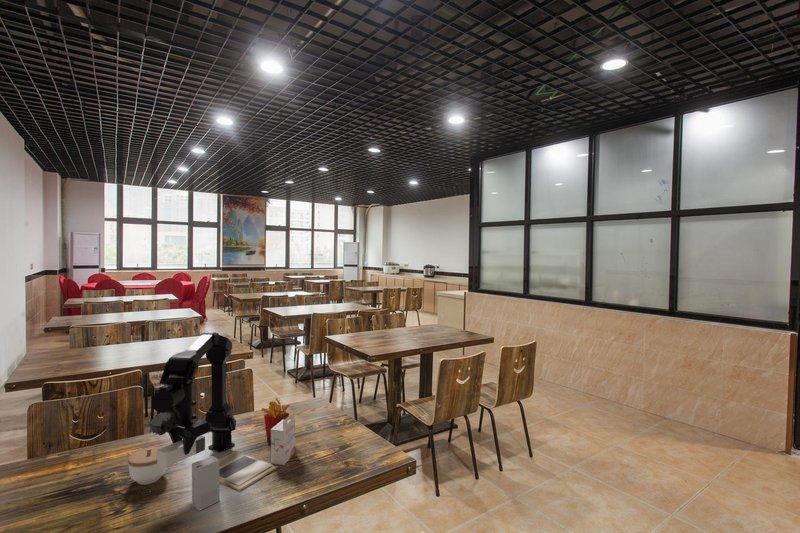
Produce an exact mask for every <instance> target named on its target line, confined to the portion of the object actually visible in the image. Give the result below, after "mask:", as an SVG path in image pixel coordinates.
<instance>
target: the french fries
mask: <svg viewBox="0 0 800 533" xmlns="http://www.w3.org/2000/svg"><path fill="white" fill-rule="evenodd" d="M289 407H291V405H290V404H287V405H285V404H282V405H281V402H280V400H279V399H278V398H277V397H275V400H272V401H269V403H268V409H267V408H264V407H261V410H260V411H262V412H265V413H266V414H264V416H263V417H264V418H263V419H264V428H265V436H266V441H267V442H269V443H271V429H272V428H273V427H274V426H276V425H277V424H278V423H279V422H280V421H282V420H285V419H286V418H287V417H289V416H290V413H289V412H286V411H287V410H288V408H289Z"/></svg>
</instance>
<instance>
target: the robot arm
mask: <svg viewBox="0 0 800 533" xmlns="http://www.w3.org/2000/svg"><path fill="white" fill-rule="evenodd" d="M232 350H233V342H232V341H231V340H230V338H229V337H226V336H224V335H221V334H220V333H218V332H216V331H207V332H206V331H205V332H204V331H203V332H201V333H200V334H199V337H198V338H197V339H196V340H195V341H194V342H193V343H191V345H190V346H188V348H187V349H185V350H184V351H181V352H177V353H175V354H173V355H172V356H170V357H169V358H168V360H167V361H166V363H165V365H164V369H163V370H162V371H163V372H162V375H161V377H160V381H159V384H160V385H161V386H159V387H158V388H159V389H158V390H159V391H158V392H156V393H155V394H154V395H153V396H152V399H151V401H150V403H151V406H152V408H153V410H155V412H157V414H156V415H155V416H154V417H153V418H152V419H151V420H149V422H148V426H149V428H150V430H151V432H152V433H153V434H156V435H158V436H164V434H166V433H168V436H169V437H170V440H171V442H172V443H171V444H173V443H176V442H178V441H180V440H183V447H184V453H185V455H187V454H189V452H190V450H191V448H192V446H193V444H194V442H195V440H196V438H197V437H199V436H204V435H205V434H208V433H211V434H212V436H211V437H212V438H211V440H212V441H211V444H210V445H208V449H210V450H212V451H216V452H218V453H221V452H223V451H225V450H227V449H230V448H231V447H233V446H235V445H236V444H235V443H234V442H232V440H233V439H232V436H233V435H232V432H233V431H236V430H237V429H236V426H237V420H236V418H235V417H234V416H233V411H232V410H233V409H232V407H231V406H230V404H229V403H228V401H227V362H228V359H229V357H230V356H231V354H232ZM203 357H205V359H207V361H208V362H209V364H210V367H211V368H210V373H211V376H210V379H211V382H210V384H211V385H210V386H211V387H210V388H211V405H210V407H209V409H208V410H207V411H206V413H205V420H203V419H199V420H196V421H194V422H193V420H195V419H197V414H194V406H197V401H196V400H194V380H196V376H195V375H196V373H197V370H198V369H199V361H200V360H201V359H202V358H203Z"/></svg>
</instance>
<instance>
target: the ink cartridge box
mask: <svg viewBox="0 0 800 533" xmlns="http://www.w3.org/2000/svg"><path fill="white" fill-rule="evenodd" d="M295 454H296V418H295V413H294V412H292V413H291V414H289V417H287V418H286V419H285V420H282V421H280V422H279V423H278V424H277V425H276V426H274V427H273V428H272V429H271V442H270V464H273V465H281V466H285V465H286V464H287V462H288V461H290V459H292V457H293V456H294V455H295Z"/></svg>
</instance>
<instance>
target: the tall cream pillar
mask: <svg viewBox="0 0 800 533" xmlns="http://www.w3.org/2000/svg"><path fill="white" fill-rule="evenodd" d="M162 447H163V448H161V449H159V450H157V464H158V465H161V466H163V467H165V468H168V467H171V466H173V465H176V464H178V463H179V462H182V461H184V460H186V459H189V458H190V457H193V456H195V455H197V454H200V453H201V452H203V451H205V450H206V436H204V435H201V436H199V437H197V438H196V440H195V442H194V444H193V446H192V448H191V450H190V452H189V454H187V455H185V453H184V447H183V439H182V440H180V441H178V442H176V443H170V444H169V445H166V446H162Z"/></svg>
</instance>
